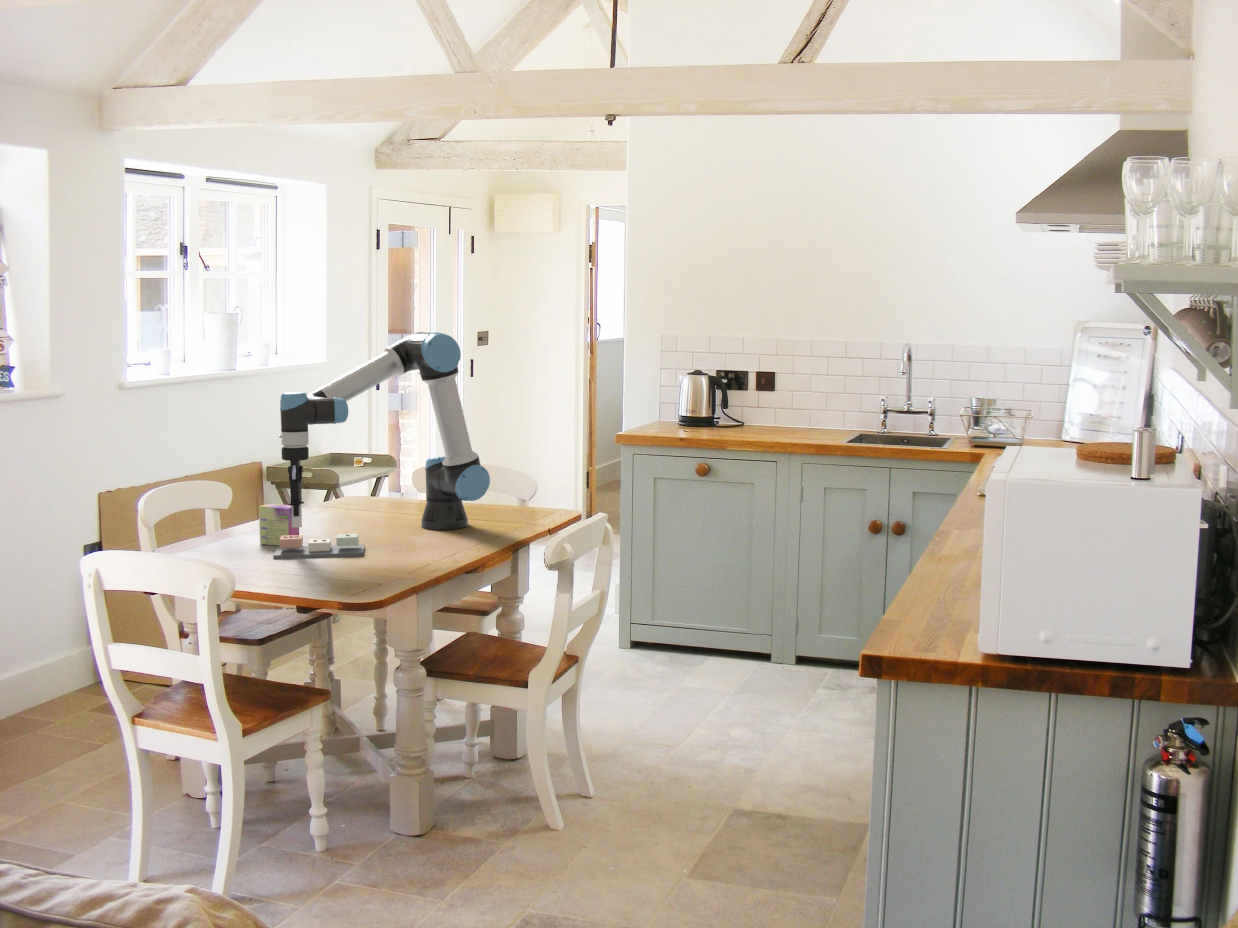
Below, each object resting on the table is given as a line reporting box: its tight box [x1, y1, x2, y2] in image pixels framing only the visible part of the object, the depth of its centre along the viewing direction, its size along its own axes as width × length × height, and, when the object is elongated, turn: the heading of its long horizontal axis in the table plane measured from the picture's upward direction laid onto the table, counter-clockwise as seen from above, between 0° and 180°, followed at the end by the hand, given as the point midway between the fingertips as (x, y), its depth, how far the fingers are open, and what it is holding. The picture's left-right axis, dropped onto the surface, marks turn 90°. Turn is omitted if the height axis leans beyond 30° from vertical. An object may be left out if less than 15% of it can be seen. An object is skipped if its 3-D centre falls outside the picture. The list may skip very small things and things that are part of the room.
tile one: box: [336, 532, 360, 546], centre depth 350 cm, size 6×6×3 cm
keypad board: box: [272, 544, 365, 560], centre depth 349 cm, size 25×12×1 cm, turn 100°
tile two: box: [307, 538, 332, 552], centre depth 349 cm, size 6×6×3 cm
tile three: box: [279, 534, 304, 548], centre depth 347 cm, size 6×6×3 cm
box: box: [258, 503, 300, 547], centre depth 362 cm, size 10×6×12 cm, turn 71°
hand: (296, 526), depth 347 cm, fingers closed
